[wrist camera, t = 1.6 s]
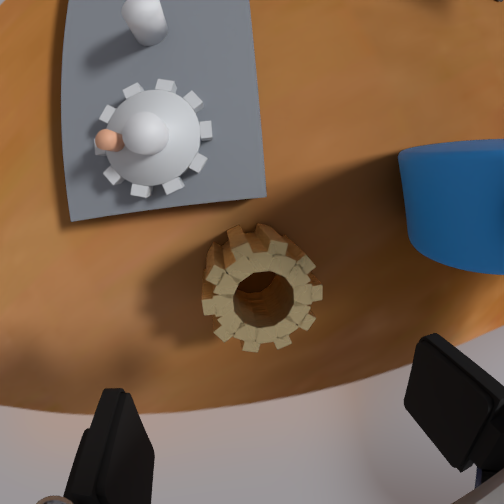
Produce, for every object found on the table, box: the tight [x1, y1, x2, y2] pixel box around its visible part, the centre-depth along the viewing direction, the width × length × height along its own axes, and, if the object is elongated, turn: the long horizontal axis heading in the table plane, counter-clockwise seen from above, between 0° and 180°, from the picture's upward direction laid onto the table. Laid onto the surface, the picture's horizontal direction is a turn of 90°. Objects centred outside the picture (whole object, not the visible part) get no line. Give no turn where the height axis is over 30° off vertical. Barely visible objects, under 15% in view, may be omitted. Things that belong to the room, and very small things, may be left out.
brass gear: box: [202, 223, 322, 353], centre depth 19 cm, size 6×6×5 cm
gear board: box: [61, 0, 267, 222], centre depth 14 cm, size 12×19×6 cm, turn 5°
